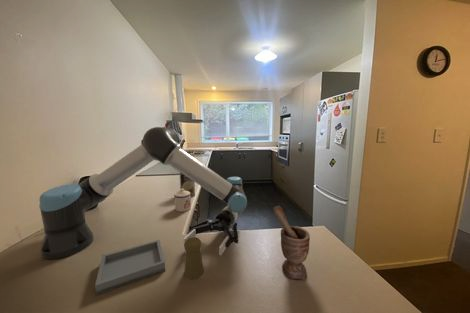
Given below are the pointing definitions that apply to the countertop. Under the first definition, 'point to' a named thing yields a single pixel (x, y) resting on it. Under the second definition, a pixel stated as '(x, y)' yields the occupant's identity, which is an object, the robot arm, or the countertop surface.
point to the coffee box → (187, 184)
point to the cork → (193, 258)
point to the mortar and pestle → (293, 246)
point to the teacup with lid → (182, 200)
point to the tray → (129, 266)
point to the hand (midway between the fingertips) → (201, 246)
